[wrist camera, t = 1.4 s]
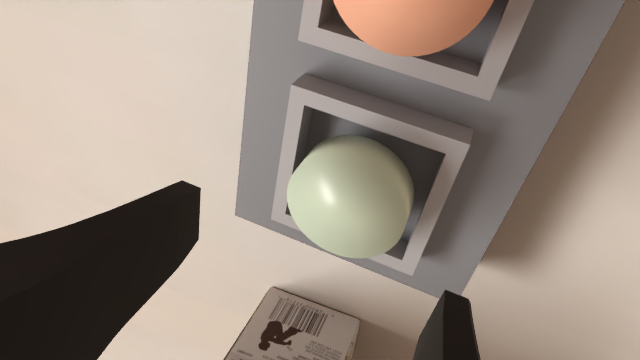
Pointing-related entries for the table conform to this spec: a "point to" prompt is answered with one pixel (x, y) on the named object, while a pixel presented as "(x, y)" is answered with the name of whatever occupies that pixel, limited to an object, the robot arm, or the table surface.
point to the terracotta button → (412, 23)
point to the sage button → (351, 196)
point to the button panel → (415, 119)
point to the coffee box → (295, 331)
